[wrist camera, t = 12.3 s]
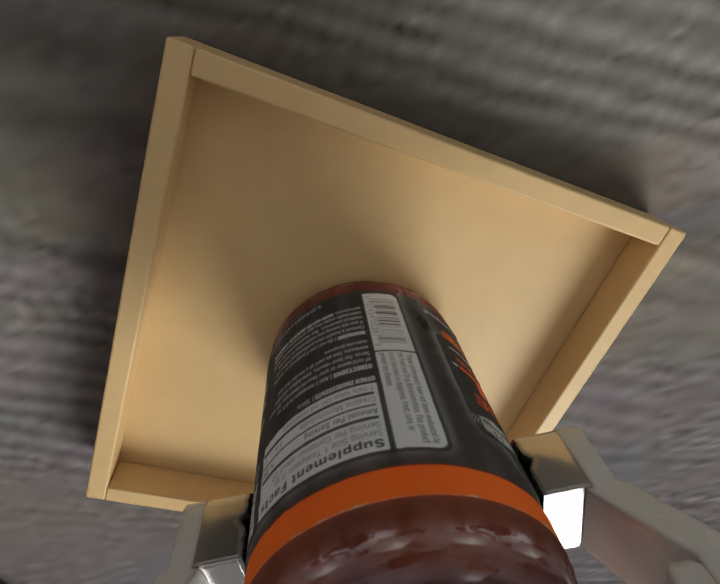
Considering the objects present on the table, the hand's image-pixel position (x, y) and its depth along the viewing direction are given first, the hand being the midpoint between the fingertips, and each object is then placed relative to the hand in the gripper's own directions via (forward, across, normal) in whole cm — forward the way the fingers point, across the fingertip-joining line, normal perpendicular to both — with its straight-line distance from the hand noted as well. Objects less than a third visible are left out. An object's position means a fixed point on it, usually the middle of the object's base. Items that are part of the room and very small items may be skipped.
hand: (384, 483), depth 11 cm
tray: (+6, 0, 0) cm, 6 cm away
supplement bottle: (+5, 0, 0) cm, 5 cm away
